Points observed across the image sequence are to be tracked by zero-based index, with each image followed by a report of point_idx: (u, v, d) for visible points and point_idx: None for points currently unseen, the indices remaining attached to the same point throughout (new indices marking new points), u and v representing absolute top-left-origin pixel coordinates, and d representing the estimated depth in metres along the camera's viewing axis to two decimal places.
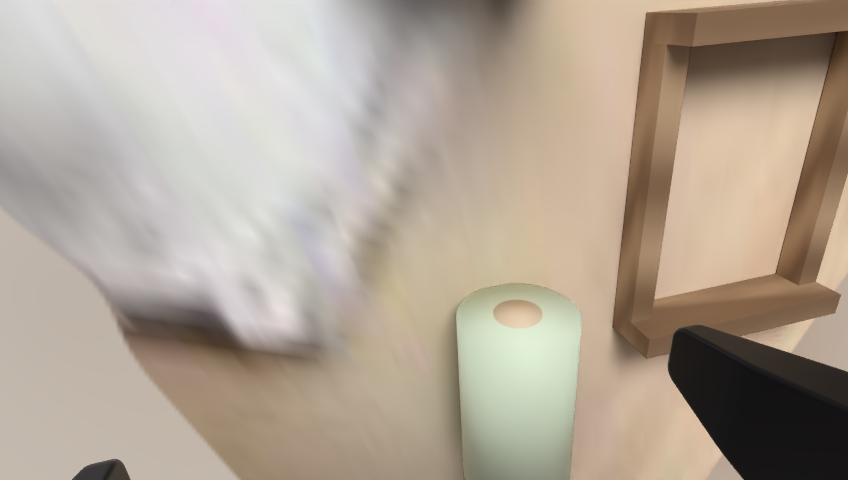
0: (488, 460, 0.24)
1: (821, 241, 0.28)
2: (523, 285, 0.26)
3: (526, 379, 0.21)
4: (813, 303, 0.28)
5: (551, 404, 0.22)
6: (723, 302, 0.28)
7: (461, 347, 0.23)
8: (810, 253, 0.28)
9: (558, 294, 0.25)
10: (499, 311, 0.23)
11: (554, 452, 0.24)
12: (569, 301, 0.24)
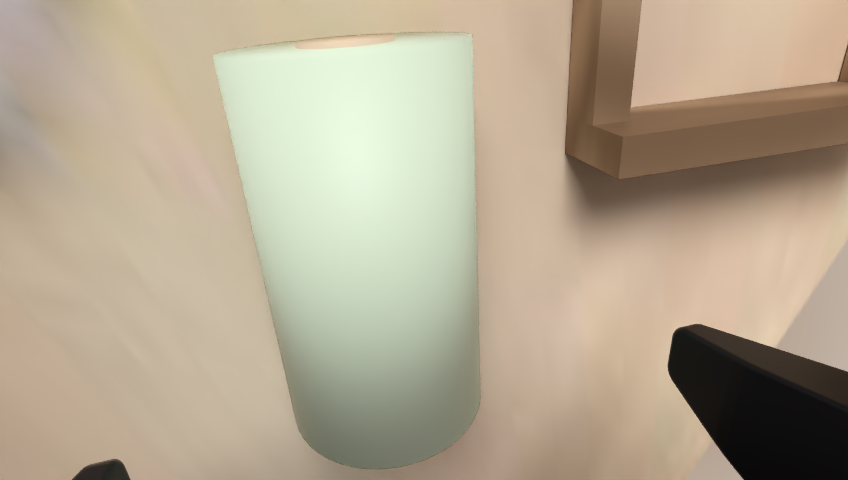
0: (297, 351, 0.12)
1: None
2: (386, 34, 0.14)
3: (328, 134, 0.09)
4: None
5: (399, 210, 0.10)
6: (756, 103, 0.16)
7: None
8: None
9: (443, 32, 0.13)
10: (310, 40, 0.11)
11: (422, 332, 0.12)
12: (459, 33, 0.12)
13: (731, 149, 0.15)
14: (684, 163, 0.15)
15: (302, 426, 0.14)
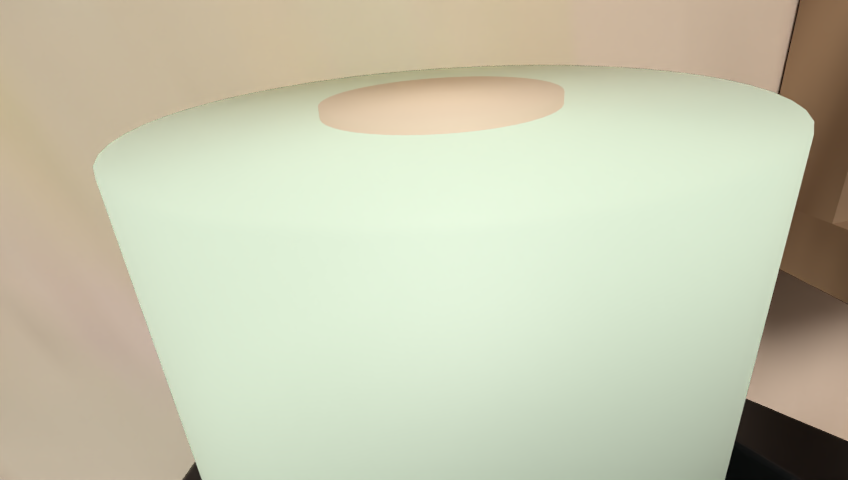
0: None
1: None
2: (487, 68, 0.07)
3: (453, 459, 0.03)
4: None
5: None
6: None
7: None
8: None
9: (623, 69, 0.06)
10: (354, 96, 0.05)
11: None
12: (681, 75, 0.05)
13: None
14: None
15: None
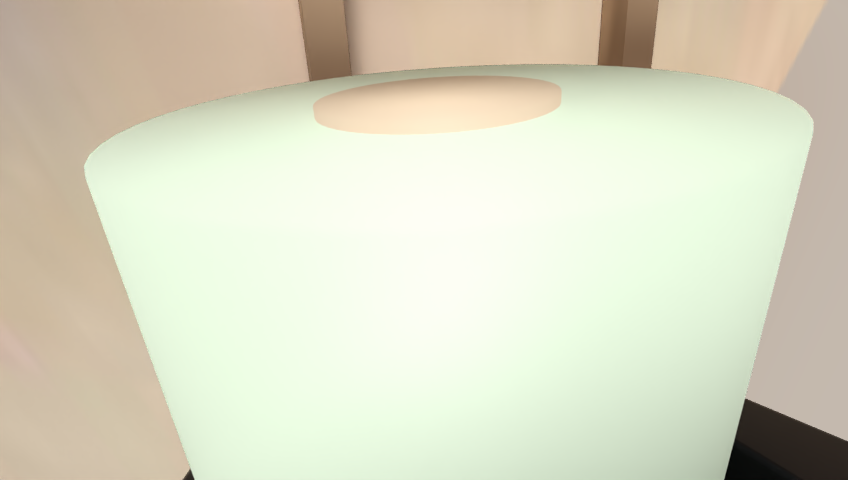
0: None
1: None
2: (485, 67, 0.07)
3: (446, 462, 0.03)
4: None
5: None
6: None
7: None
8: None
9: (621, 67, 0.06)
10: (349, 96, 0.05)
11: None
12: (680, 74, 0.05)
13: None
14: None
15: None
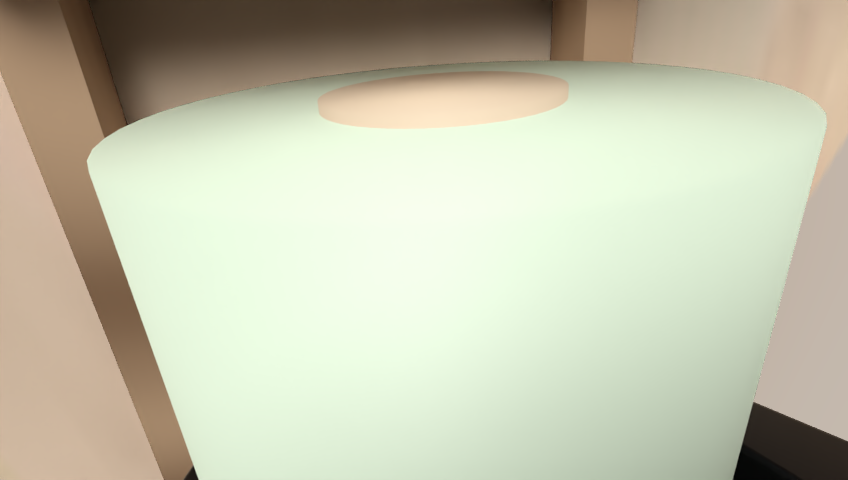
0: None
1: None
2: (489, 63, 0.07)
3: (456, 459, 0.03)
4: None
5: None
6: None
7: None
8: None
9: (627, 64, 0.06)
10: (354, 91, 0.05)
11: None
12: (687, 69, 0.05)
13: None
14: None
15: None
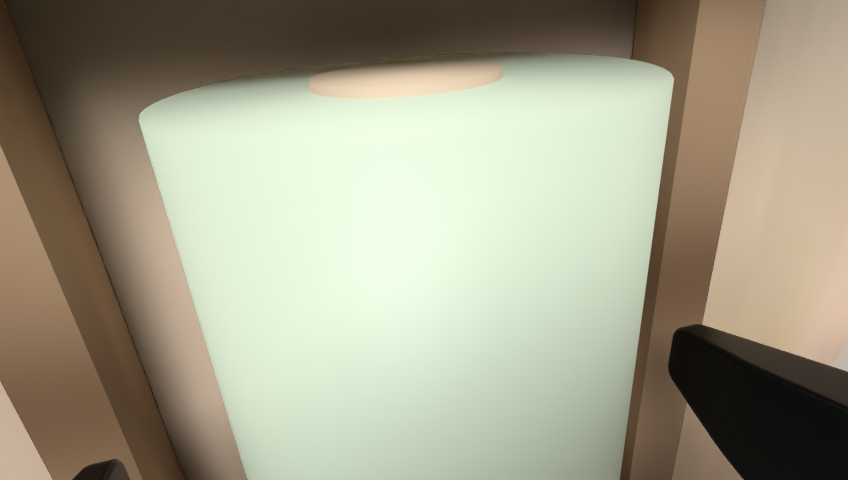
0: None
1: (660, 459, 0.12)
2: (455, 55, 0.08)
3: (399, 315, 0.04)
4: None
5: (537, 443, 0.05)
6: None
7: None
8: None
9: (564, 54, 0.07)
10: (337, 74, 0.06)
11: None
12: (606, 57, 0.07)
13: None
14: None
15: None
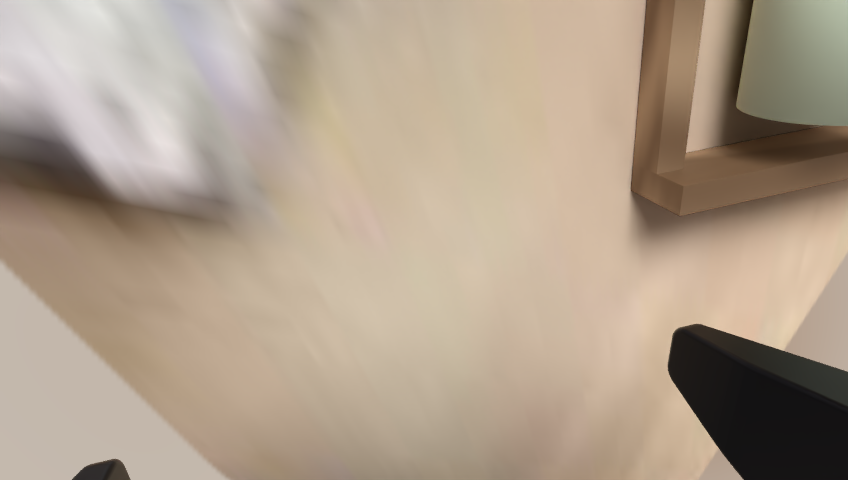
0: (845, 16, 0.16)
1: None
2: None
3: None
4: None
5: None
6: (779, 149, 0.21)
7: None
8: None
9: None
10: None
11: None
12: None
13: (762, 189, 0.20)
14: (727, 201, 0.20)
15: (799, 107, 0.17)
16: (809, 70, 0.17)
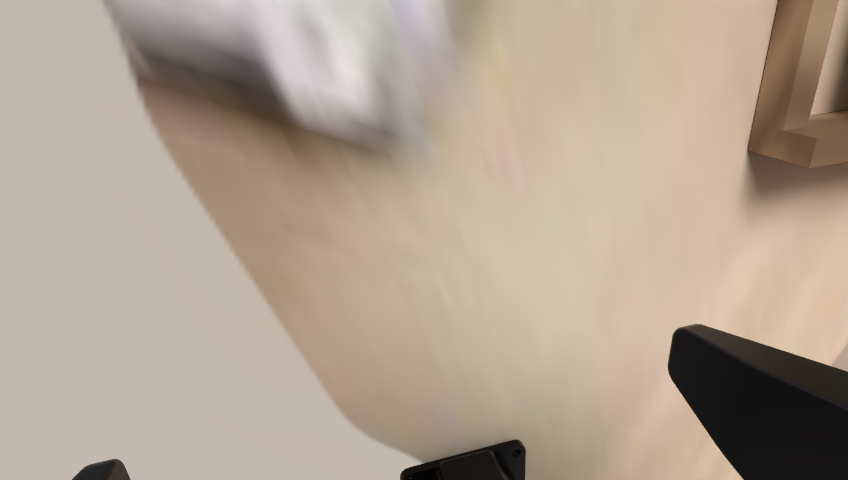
0: None
1: None
2: None
3: None
4: None
5: None
6: None
7: None
8: None
9: None
10: None
11: None
12: None
13: None
14: None
15: None
16: None
